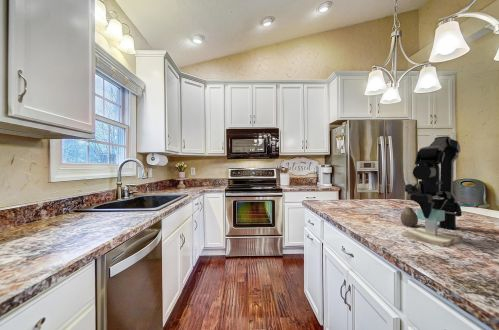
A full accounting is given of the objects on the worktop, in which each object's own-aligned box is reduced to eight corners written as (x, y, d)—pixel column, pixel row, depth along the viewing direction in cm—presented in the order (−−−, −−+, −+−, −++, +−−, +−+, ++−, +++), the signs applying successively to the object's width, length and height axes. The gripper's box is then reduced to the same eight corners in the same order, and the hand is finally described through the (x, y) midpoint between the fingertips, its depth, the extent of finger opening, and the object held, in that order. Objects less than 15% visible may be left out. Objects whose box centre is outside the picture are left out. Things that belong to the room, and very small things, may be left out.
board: (421, 230, 98) (421, 227, 98) (462, 240, 85) (462, 236, 85) (401, 235, 91) (401, 232, 91) (443, 246, 78) (443, 242, 78)
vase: (421, 228, 101) (421, 209, 101) (404, 227, 103) (404, 208, 103) (413, 224, 108) (413, 206, 108) (397, 223, 110) (397, 206, 110)
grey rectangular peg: (427, 232, 90) (427, 218, 90) (437, 235, 87) (437, 220, 87) (425, 233, 89) (425, 218, 89) (435, 235, 86) (435, 220, 86)
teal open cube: (444, 220, 87) (444, 209, 87) (436, 222, 84) (436, 211, 84) (426, 217, 92) (425, 206, 92) (417, 218, 90) (417, 208, 90)
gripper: (420, 176, 99) (421, 210, 99) (395, 178, 91) (396, 215, 91) (451, 178, 89) (452, 215, 89) (426, 180, 81) (427, 221, 81)
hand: (431, 217), depth 88 cm, fingers closed on teal open cube, 6 cm apart
